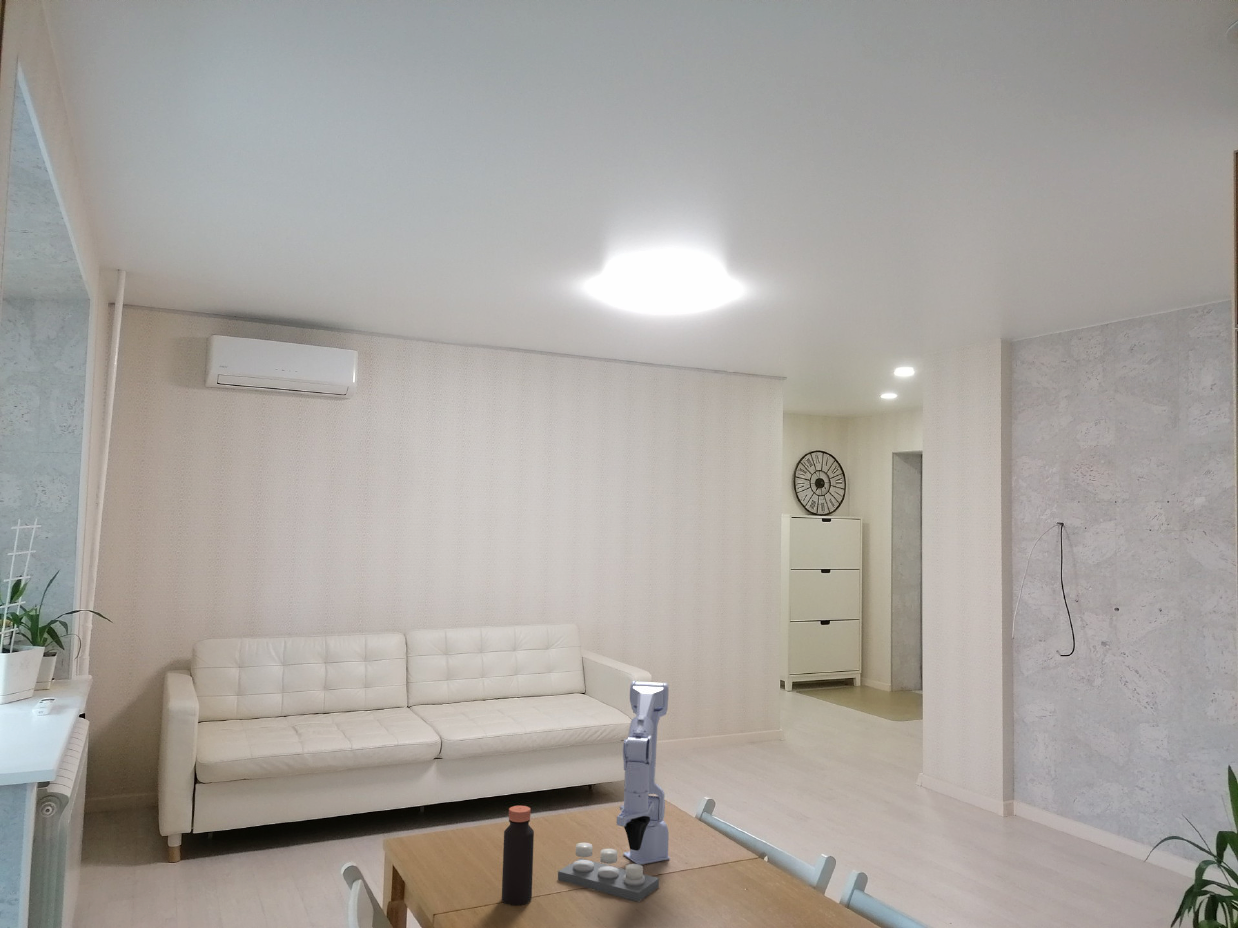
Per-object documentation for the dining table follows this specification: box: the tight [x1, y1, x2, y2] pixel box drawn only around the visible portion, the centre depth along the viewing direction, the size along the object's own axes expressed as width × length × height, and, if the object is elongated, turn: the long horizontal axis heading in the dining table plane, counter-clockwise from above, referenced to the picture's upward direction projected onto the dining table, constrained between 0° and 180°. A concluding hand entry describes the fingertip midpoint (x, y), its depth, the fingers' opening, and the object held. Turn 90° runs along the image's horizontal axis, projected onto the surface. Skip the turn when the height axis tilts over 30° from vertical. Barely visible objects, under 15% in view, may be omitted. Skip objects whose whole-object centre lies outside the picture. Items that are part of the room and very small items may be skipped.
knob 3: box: [625, 863, 644, 880], centre depth 204 cm, size 4×4×2 cm
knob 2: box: [599, 848, 618, 865], centre depth 208 cm, size 4×4×2 cm
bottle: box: [501, 805, 535, 906], centre depth 198 cm, size 7×7×20 cm
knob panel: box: [557, 857, 660, 903], centre depth 208 cm, size 22×10×3 cm, turn 60°
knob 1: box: [575, 842, 593, 858], centre depth 212 cm, size 4×4×2 cm
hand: (634, 848), depth 205 cm, fingers closed
